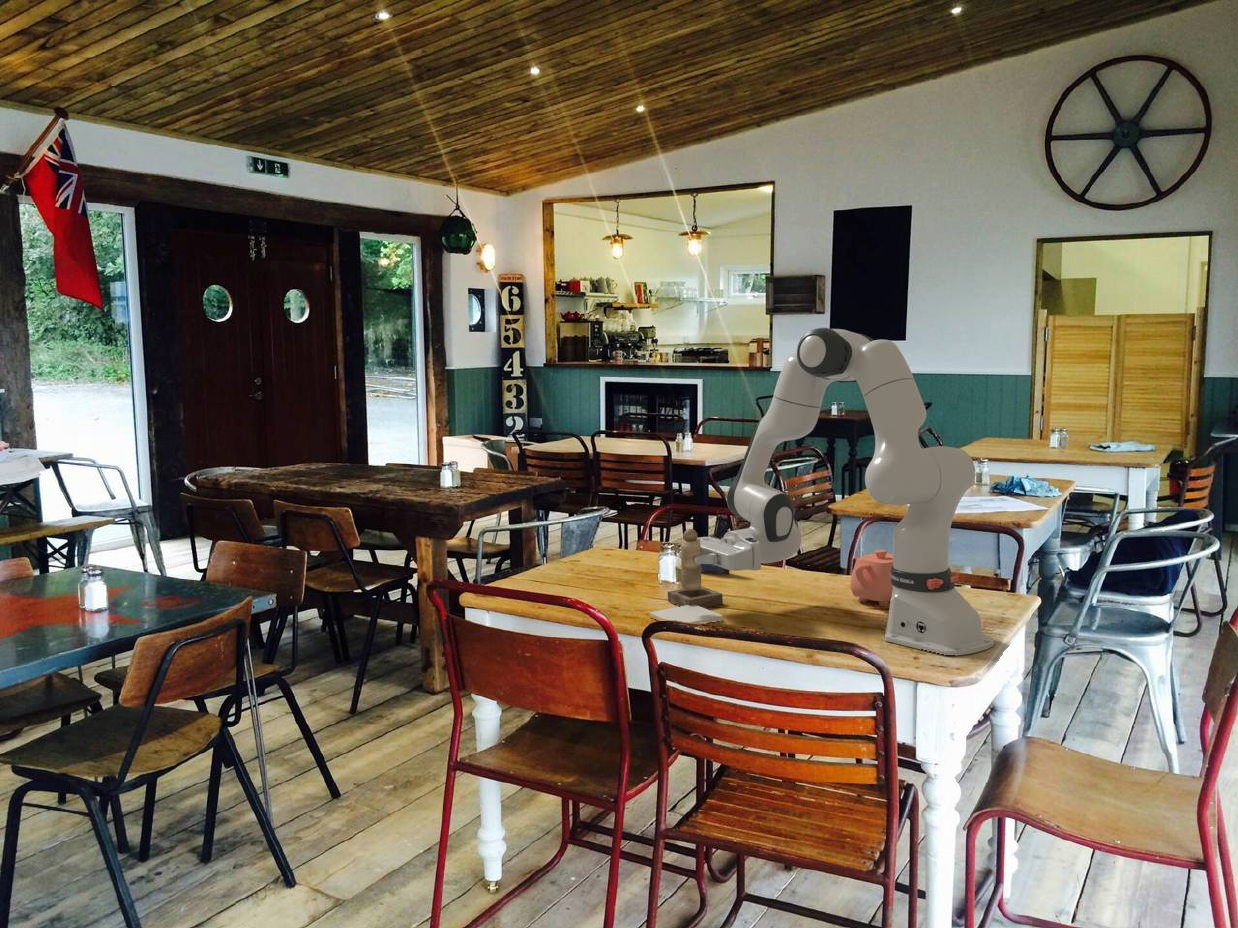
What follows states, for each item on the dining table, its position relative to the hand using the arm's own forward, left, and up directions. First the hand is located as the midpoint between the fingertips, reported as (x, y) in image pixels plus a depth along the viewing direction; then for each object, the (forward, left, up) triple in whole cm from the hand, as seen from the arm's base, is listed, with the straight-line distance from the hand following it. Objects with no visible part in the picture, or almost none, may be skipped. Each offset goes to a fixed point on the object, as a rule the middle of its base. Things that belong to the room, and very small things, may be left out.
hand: (687, 557), depth 232 cm
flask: (+32, -28, -14) cm, 45 cm away
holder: (+10, -8, -14) cm, 19 cm away
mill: (0, -1, -7) cm, 7 cm away
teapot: (-14, -45, -14) cm, 49 cm away
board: (0, +1, -14) cm, 14 cm away
